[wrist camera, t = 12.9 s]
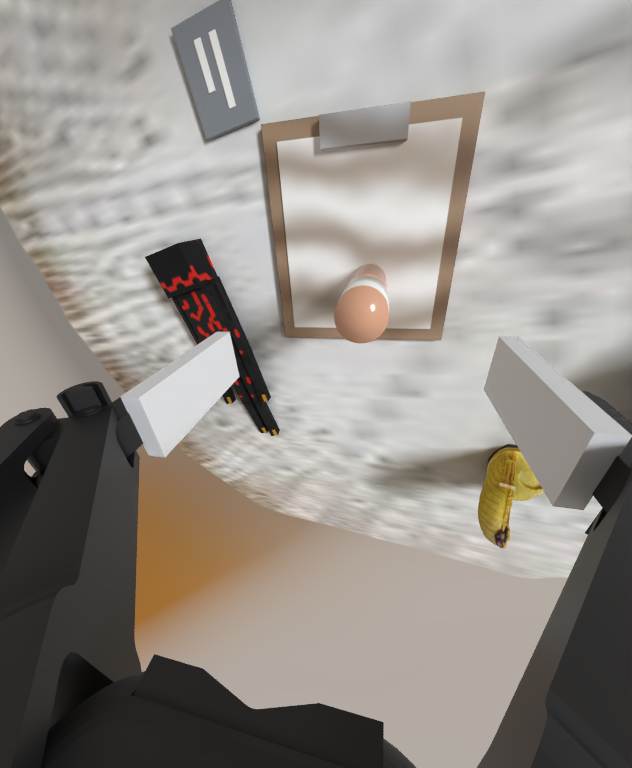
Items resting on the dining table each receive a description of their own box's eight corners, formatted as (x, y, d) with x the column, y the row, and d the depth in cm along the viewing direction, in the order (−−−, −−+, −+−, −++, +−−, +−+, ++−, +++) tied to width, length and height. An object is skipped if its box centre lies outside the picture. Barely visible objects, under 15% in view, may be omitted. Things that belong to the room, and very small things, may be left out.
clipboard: (263, 126, 28) (257, 121, 26) (482, 95, 24) (488, 86, 22) (287, 335, 39) (283, 339, 37) (440, 337, 35) (442, 343, 33)
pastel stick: (351, 264, 32) (332, 289, 20) (388, 262, 31) (391, 288, 19) (350, 300, 34) (333, 343, 22) (385, 300, 33) (387, 344, 21)
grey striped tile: (175, 32, 26) (170, 28, 25) (230, 0, 24) (226, -6, 24) (209, 140, 29) (205, 138, 29) (259, 119, 28) (257, 117, 27)
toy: (293, 419, 49) (208, 235, 34) (285, 439, 45) (185, 239, 30) (252, 425, 51) (158, 256, 37) (241, 444, 47) (130, 263, 33)
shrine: (447, 466, 45) (472, 563, 32) (472, 428, 40) (511, 523, 28) (520, 487, 44) (575, 596, 31) (553, 451, 39) (633, 560, 27)
